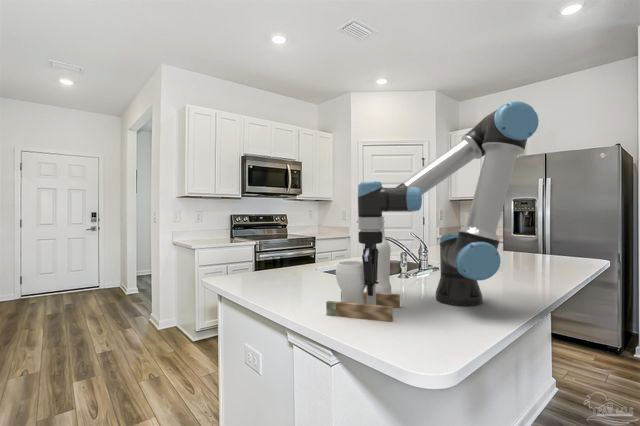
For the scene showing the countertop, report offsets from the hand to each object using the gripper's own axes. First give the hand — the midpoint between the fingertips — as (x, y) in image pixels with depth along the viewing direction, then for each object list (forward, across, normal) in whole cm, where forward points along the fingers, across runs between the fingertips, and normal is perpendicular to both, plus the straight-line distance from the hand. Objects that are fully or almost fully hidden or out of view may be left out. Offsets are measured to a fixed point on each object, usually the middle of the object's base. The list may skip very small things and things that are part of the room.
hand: (371, 304), depth 108 cm
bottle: (+2, -20, -1) cm, 20 cm away
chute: (+2, 0, -2) cm, 3 cm away
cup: (+2, 0, -6) cm, 7 cm away
